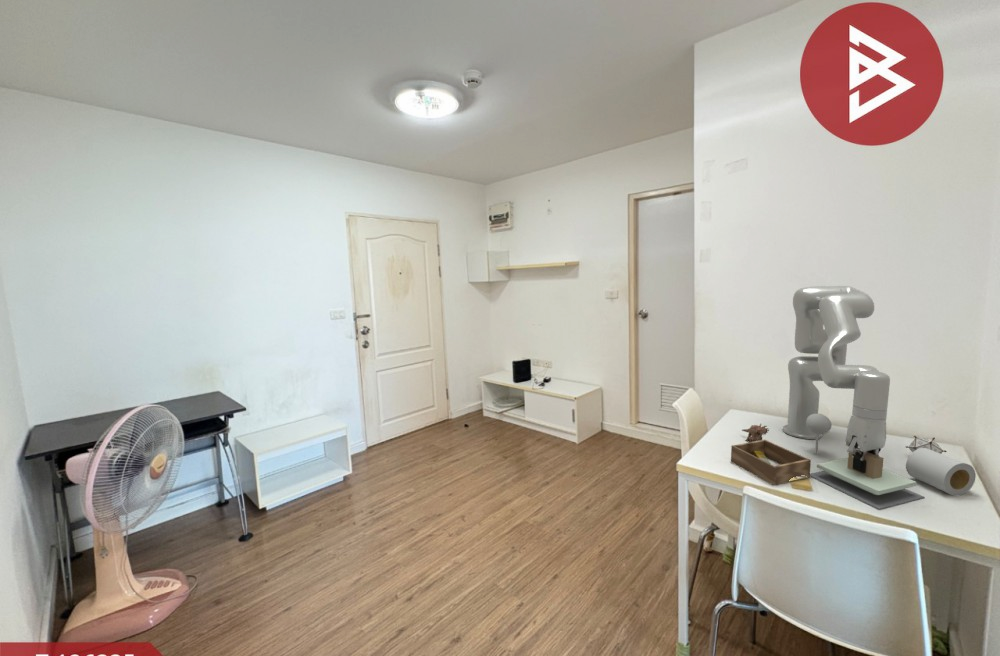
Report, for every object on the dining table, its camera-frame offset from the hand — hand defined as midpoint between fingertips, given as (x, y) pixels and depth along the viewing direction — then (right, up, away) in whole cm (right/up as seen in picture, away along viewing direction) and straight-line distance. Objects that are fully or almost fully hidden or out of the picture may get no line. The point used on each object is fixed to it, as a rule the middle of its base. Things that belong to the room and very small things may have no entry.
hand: (864, 469), depth 121 cm
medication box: (-22, -5, +14) cm, 26 cm away
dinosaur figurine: (-12, -2, +33) cm, 35 cm away
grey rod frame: (+34, -2, +14) cm, 37 cm away
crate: (-20, -5, +13) cm, 25 cm away
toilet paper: (+21, -5, -1) cm, 22 cm away
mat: (0, -5, +1) cm, 6 cm away
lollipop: (+3, -2, +22) cm, 22 cm away
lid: (0, -2, 0) cm, 2 cm away
